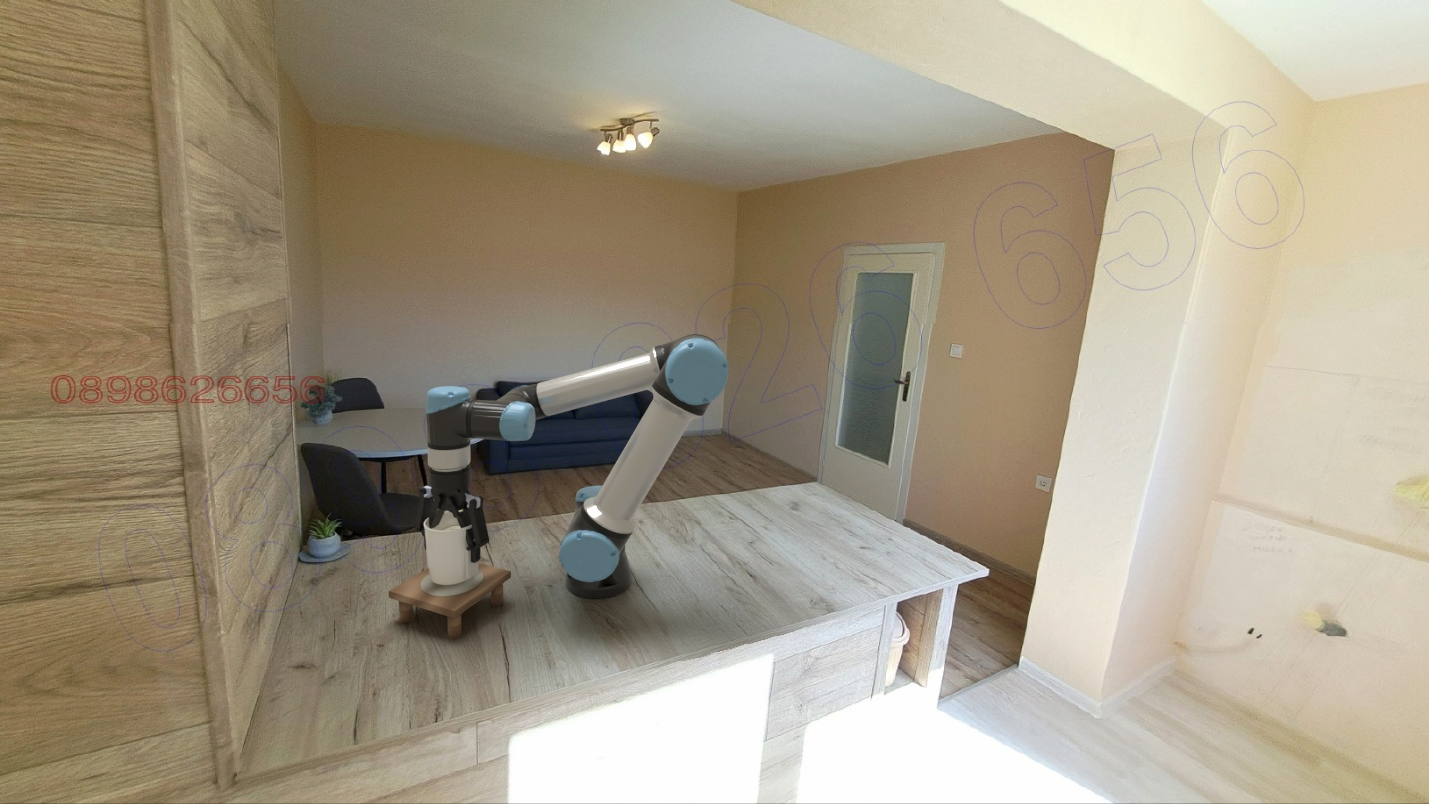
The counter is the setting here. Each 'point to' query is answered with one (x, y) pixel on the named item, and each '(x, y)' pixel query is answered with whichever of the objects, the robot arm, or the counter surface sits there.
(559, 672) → the counter surface
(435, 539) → the candle holder
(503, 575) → the footstool
